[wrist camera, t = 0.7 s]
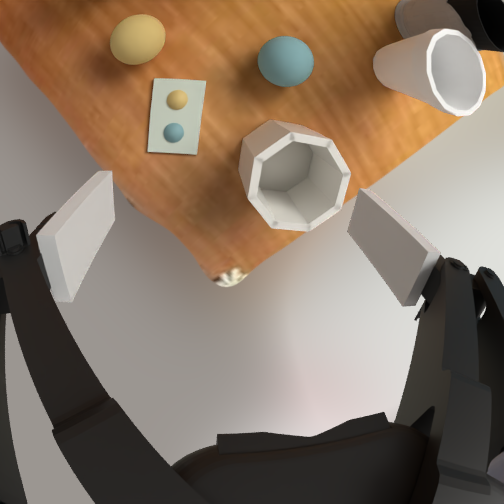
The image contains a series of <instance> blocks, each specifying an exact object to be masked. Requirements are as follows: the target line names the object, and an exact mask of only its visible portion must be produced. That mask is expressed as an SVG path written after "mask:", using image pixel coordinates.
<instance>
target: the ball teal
mask: <svg viewBox="0 0 504 504" xmlns="http://www.w3.org/2000/svg"><path fill="white" fill-rule="evenodd" d="M258 67H259V70H260V72H261V73H262V75H263V76H264V77H265V78H266V79H267V80H268V81H269V82H271V83H273V84H275V85H278V86H282V87H291V86H296V85H299V84H301V83H302V82H304V81H305V80H306V79H307V78H308V77H309V76H310V74H311V73H312V70H313V67H314V59H313V55H312V52H311V50H310V49H309V47H308V46H307V45H306V44H305V43H304V42H302V41H301V40H299V39H297V38H294V37H289V36H280V37H276V38H273V39H271V40H269V41H268V42H266V43H265V44H264V45H263V47H262V48H261V50H260V52H259V54H258Z"/></svg>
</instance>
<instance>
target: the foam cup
mask: <svg viewBox="0 0 504 504" xmlns="http://www.w3.org/2000/svg"><path fill="white" fill-rule="evenodd" d="M373 70H374V72H375V75H376V77H377V79H378V80H379V81H380V82H381V83H382V84H383V85H384V86H386V87H388V88H390V89H393V90H395V91H398V92H401V93H403V94H406V95H408V96H411V97H413V98H416V99H418V100H421V101H423V102H425V103H428V104H430V105H431V106H433V107H435V108H436V109H438V110H440V111H442V112H444V113H448V114H452V115H455V116H465V115H471V114H472V113H473V112H474V111H475V110H476V109H477V108H478V107H479V106H480V104H481V102H482V99H483V97H484V94H485V89H486V73H485V69H484V65H483V61H482V58H481V55H480V54H479V52H478V50H477V49H476V47H475V46H474V44H473V42H472V41H471V40H470V39H469V38H467V37H466V36H465V35H464V34H462V33H461V32H460V31H458V30H451V29H431V30H428V31H427V32H425V33H423V34H420V35H416V36H413V37H410V38H407V39H404V40H401V41H398V42H395V43H392V44H389V45H386V46H384V47H382V48H381V49H379V50H378V51H377V52H376V54H375V56H374V58H373Z"/></svg>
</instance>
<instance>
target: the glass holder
mask: <svg viewBox="0 0 504 504" xmlns="http://www.w3.org/2000/svg"><path fill="white" fill-rule="evenodd" d="M395 21H396V25H397V28H398V30H399V32H400V34H401V35H402V37H403V38H404V39H407V38H410V37H413V36H416V35H420V34H423V33H425V32H427V31H428V30H431V29H451V30H458V31H460V32H461V33H462V34H464V35H465V36H466V37H467V38H469V39H470V40H471V41H472V42H473V44H474V46H475V47H476V49H477V50H478V51H481V50H490V51H499V52H504V2H503V1H502V0H401V1H400V2H399V3H398V4H397V6H396V9H395Z"/></svg>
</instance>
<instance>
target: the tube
mask: <svg viewBox="0 0 504 504" xmlns="http://www.w3.org/2000/svg"><path fill="white" fill-rule="evenodd" d="M238 171H239V174H240V177H241V180H242V183H243V186H244V189H245V192H246V195H247V199H248V200H249V201H250V202H251V203H252V205H253V206H254V207H255V208H256V210H257V211H258V212H259V213H260V214H261V216H262V217H263V218H264V219H265V221H266V222H267V223H268V224H269V226H270V227H271V228H275V229H286V230H297V231H308V232H309V231H311V230H312V229H314V228H315V227H317V226H318V225H320V224H321V223H322V222H324V221H325V220H327V219H328V218H330V217H331V216H333V215H334V214H335V213H337V212H338V211H340V210H341V208H342V204H343V201H344V197H345V194H346V190H347V186H348V183H349V179H350V175H351V172H350V170H349V168H348V167H347V165H346V163H345V161H344V160H343V158H342V156H341V154H340V153H339V151H338V149H337V148H336V146H335V144H334V143H333V141H332V140H331V139H329V138H327V137H325V136H323V135H321V134H319V133H317V132H315V131H313V130H311V129H309V128H307V127H305V126H303V125H300V124H294V123H289V122H283V121H277V120H271V119H269V120H268V121H267V122H265V123H264V124H262V125H261V126H259V127H258V128H257V129H255V130H254V131H252V132H251V133H250V134H248V135H247V136H245V137H244V138H243V140H242V147H241V153H240V160H239V167H238Z"/></svg>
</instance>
